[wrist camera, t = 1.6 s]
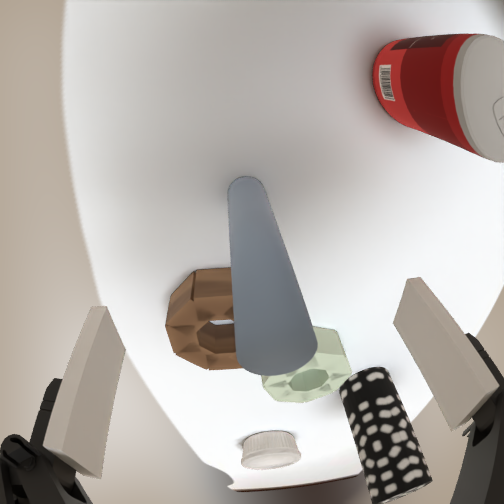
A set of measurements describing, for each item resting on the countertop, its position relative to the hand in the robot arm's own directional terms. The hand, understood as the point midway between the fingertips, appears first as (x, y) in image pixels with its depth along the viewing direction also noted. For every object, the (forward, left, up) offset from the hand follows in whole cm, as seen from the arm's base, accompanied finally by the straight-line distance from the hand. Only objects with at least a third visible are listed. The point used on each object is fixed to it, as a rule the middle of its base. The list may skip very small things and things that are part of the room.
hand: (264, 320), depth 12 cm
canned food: (-14, -10, -14) cm, 23 cm away
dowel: (0, 0, -14) cm, 14 cm away
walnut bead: (+3, +12, -14) cm, 19 cm away
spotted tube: (-17, +31, -14) cm, 38 cm away
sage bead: (-6, +21, -14) cm, 26 cm away
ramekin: (-2, +48, -14) cm, 50 cm away
